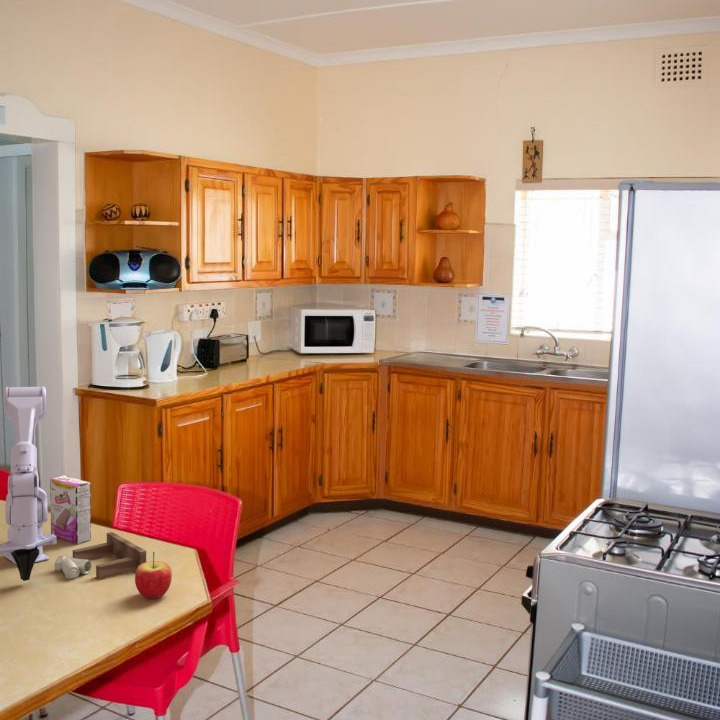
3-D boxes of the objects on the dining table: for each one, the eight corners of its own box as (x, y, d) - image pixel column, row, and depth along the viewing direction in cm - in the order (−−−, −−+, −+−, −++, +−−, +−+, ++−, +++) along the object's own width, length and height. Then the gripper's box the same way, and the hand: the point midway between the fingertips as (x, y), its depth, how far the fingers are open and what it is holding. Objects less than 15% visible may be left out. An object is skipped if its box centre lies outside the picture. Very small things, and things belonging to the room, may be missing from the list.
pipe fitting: (76, 583, 203) (91, 571, 210) (75, 568, 202) (91, 556, 209) (46, 579, 205) (63, 567, 212) (45, 564, 204) (62, 553, 211)
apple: (172, 588, 201) (172, 547, 200) (170, 602, 193) (171, 560, 191) (136, 589, 200) (136, 548, 198) (133, 604, 191) (133, 561, 190)
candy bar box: (49, 536, 233) (48, 478, 231) (64, 532, 237) (64, 474, 235) (76, 545, 227) (76, 485, 225) (91, 540, 231) (91, 481, 229)
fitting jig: (70, 559, 217) (69, 540, 216) (112, 550, 224) (111, 531, 224) (102, 581, 204) (102, 561, 203) (146, 570, 211) (146, 550, 211)
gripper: (-2, 533, 190) (0, 592, 192) (61, 521, 200) (62, 576, 202) (-13, 525, 195) (-12, 582, 197) (49, 514, 205) (49, 568, 207)
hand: (25, 579), depth 200 cm, fingers closed
